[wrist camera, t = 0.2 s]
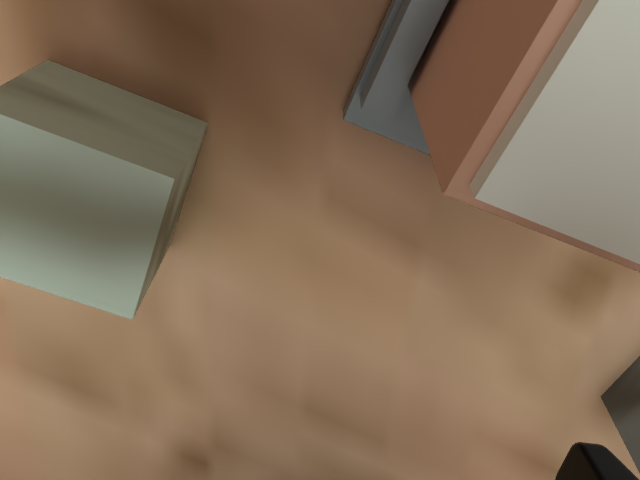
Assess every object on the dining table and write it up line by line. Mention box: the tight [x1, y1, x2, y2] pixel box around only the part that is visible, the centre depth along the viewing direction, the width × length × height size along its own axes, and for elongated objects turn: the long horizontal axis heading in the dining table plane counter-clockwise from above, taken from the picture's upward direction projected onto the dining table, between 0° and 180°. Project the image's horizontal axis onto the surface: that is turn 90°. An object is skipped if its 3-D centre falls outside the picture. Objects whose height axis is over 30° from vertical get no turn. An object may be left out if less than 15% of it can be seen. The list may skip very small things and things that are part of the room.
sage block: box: [0, 60, 208, 320], centre depth 20 cm, size 6×6×5 cm
